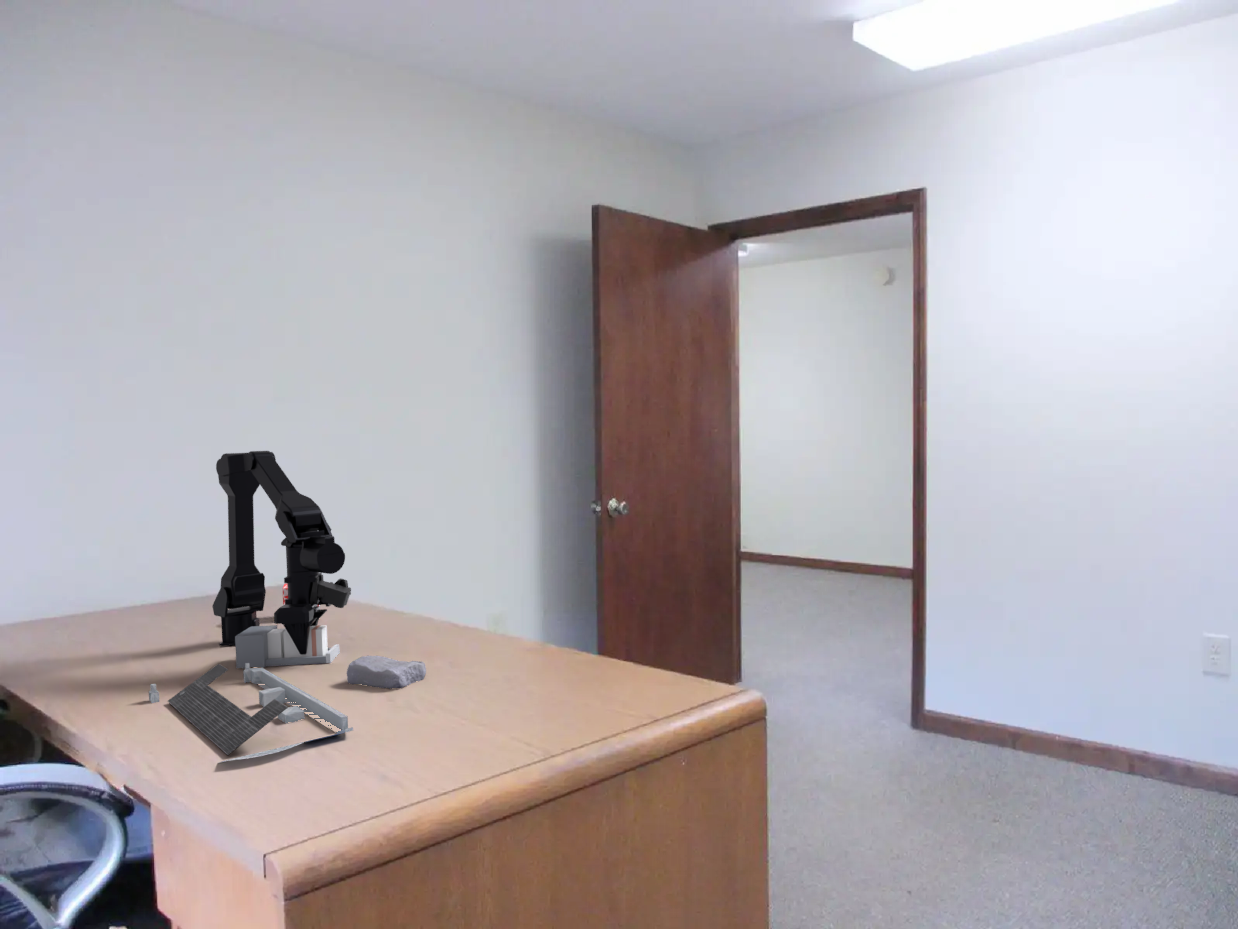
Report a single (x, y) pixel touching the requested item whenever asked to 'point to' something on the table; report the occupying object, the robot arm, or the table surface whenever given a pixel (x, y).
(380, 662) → the stone block
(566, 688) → the table surface
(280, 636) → the grey frame stand
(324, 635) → the white banded block
